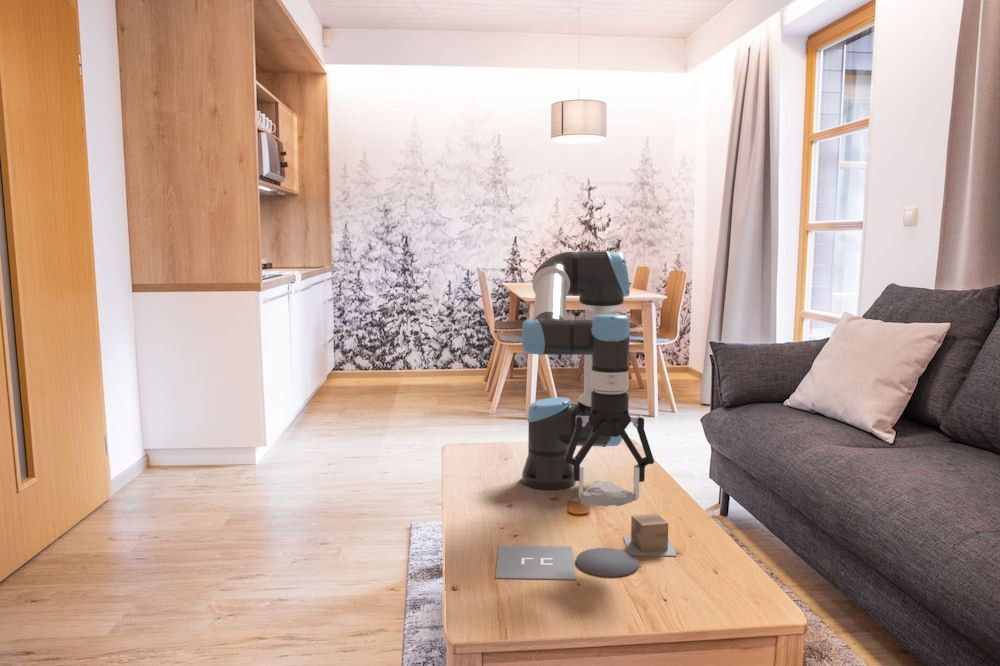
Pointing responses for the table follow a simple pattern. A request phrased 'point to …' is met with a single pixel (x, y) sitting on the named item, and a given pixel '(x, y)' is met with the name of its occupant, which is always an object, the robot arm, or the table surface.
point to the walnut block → (649, 532)
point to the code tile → (535, 562)
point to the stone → (606, 495)
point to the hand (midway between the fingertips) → (608, 496)
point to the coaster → (607, 562)
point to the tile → (637, 552)
